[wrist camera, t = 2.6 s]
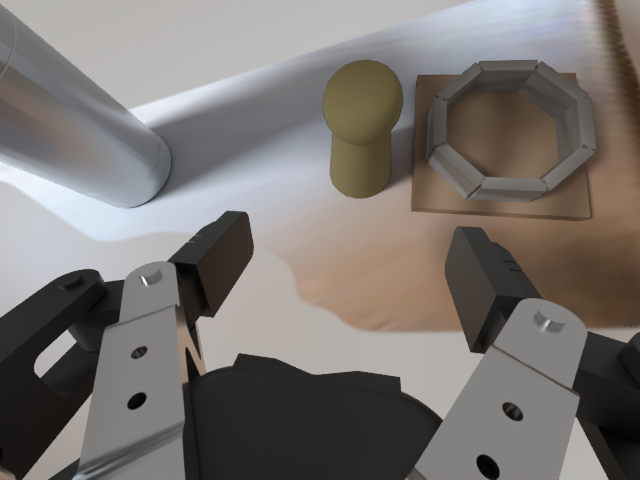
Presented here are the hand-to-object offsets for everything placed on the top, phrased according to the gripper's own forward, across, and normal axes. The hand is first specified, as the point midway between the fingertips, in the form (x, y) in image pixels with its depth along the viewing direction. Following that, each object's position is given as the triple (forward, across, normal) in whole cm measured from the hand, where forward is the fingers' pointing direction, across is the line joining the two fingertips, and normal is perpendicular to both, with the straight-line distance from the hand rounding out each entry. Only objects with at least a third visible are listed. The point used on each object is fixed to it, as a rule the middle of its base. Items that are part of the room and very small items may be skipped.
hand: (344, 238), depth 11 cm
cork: (+18, 0, +3) cm, 18 cm away
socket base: (+20, -12, +1) cm, 23 cm away
